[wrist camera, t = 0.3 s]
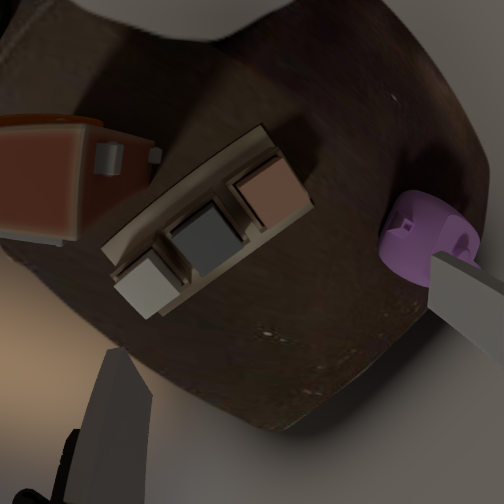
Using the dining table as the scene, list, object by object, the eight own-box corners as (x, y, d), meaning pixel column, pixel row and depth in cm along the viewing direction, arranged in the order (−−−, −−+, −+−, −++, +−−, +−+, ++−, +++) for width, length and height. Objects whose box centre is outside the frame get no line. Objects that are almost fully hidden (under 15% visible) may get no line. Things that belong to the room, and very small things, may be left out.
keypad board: (101, 247, 32) (90, 260, 28) (259, 125, 31) (268, 121, 27) (163, 315, 37) (160, 334, 33) (312, 206, 36) (327, 214, 31)
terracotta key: (234, 183, 30) (239, 188, 26) (272, 156, 30) (283, 157, 26) (260, 220, 32) (268, 229, 28) (296, 194, 32) (310, 200, 28)
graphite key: (174, 228, 30) (170, 239, 27) (211, 200, 30) (212, 207, 26) (202, 262, 32) (203, 277, 29) (238, 236, 32) (243, 247, 28)
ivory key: (122, 271, 31) (113, 286, 27) (153, 245, 31) (147, 258, 27) (150, 301, 33) (145, 319, 29) (181, 278, 32) (180, 294, 29)
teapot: (452, 219, 41) (506, 242, 29) (423, 283, 44) (471, 317, 32) (375, 163, 35) (441, 173, 23) (338, 245, 38) (392, 285, 26)
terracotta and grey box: (53, 130, 26) (167, 136, 30) (47, 186, 28) (158, 196, 32) (-75, 128, 6) (116, 107, 10) (-76, 235, 9) (101, 265, 12)
